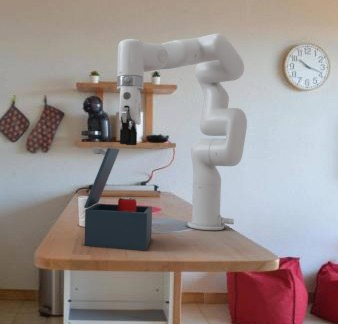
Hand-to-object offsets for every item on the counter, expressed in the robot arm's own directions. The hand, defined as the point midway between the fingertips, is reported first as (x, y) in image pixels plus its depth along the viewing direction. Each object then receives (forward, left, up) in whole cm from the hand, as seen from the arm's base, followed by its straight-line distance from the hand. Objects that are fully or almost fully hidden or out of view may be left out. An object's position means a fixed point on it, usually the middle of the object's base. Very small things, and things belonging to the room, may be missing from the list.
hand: (128, 144), depth 111 cm
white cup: (+17, -22, -28) cm, 40 cm away
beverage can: (0, 0, -28) cm, 28 cm away
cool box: (+2, 0, -28) cm, 28 cm away
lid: (+7, 0, -10) cm, 12 cm away
